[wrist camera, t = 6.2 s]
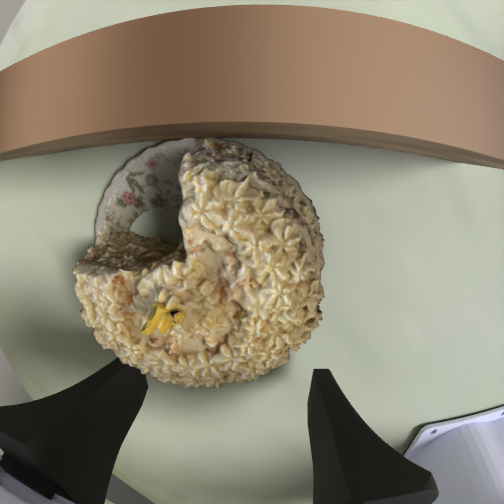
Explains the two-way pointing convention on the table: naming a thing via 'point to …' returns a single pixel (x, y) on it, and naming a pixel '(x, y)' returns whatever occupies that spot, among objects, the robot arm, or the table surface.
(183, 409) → the table surface
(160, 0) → the table surface
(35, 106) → the walnut board
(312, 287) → the cake
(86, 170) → the table surface
